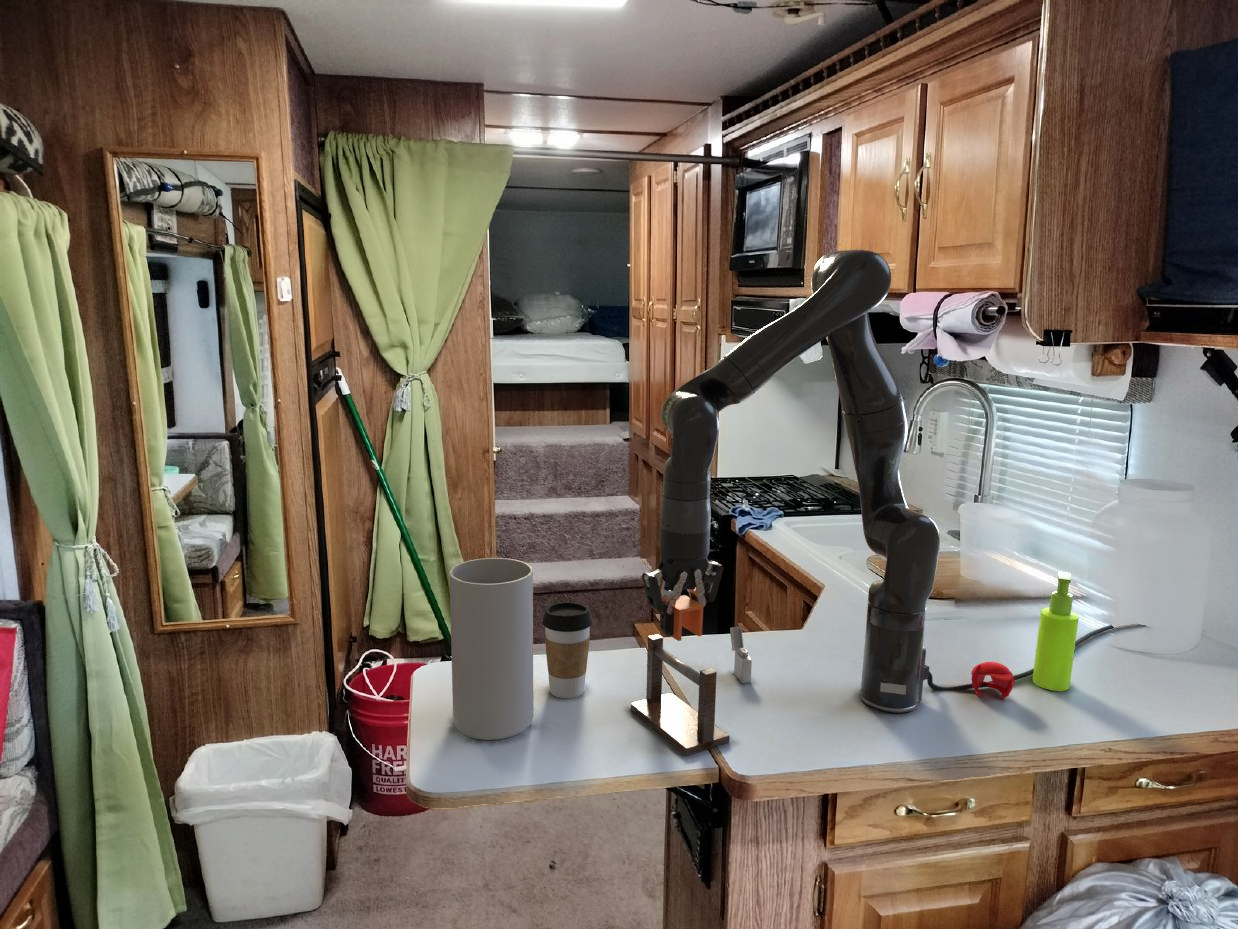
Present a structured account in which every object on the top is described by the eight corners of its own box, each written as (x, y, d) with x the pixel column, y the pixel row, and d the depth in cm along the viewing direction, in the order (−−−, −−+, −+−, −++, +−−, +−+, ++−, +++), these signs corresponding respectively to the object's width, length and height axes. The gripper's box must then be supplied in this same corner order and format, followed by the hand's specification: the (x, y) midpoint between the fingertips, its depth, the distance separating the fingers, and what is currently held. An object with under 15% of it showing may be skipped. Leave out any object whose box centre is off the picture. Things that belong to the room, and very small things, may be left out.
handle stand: (671, 698, 142) (673, 630, 140) (729, 742, 129) (733, 667, 126) (630, 709, 138) (631, 639, 136) (686, 756, 125) (688, 679, 122)
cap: (959, 687, 148) (962, 655, 147) (986, 682, 150) (990, 651, 149) (993, 708, 141) (997, 675, 139) (1021, 703, 143) (1025, 670, 142)
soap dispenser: (1068, 677, 152) (1082, 571, 148) (1070, 693, 146) (1084, 583, 142) (1032, 671, 155) (1044, 566, 151) (1032, 686, 149) (1046, 578, 145)
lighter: (751, 682, 149) (753, 639, 147) (741, 683, 148) (743, 640, 147) (737, 665, 155) (739, 624, 154) (728, 666, 155) (729, 624, 153)
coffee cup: (554, 706, 139) (554, 620, 136) (534, 685, 146) (534, 602, 143) (600, 696, 143) (601, 611, 140) (579, 675, 150) (579, 595, 147)
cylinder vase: (451, 706, 138) (447, 560, 133) (527, 699, 141) (527, 555, 136) (455, 746, 126) (451, 587, 121) (538, 737, 129) (538, 581, 124)
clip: (683, 624, 134) (684, 594, 133) (702, 636, 130) (703, 605, 129) (660, 629, 132) (661, 599, 131) (678, 641, 128) (679, 610, 127)
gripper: (658, 537, 121) (655, 649, 124) (738, 525, 128) (733, 631, 131) (631, 524, 127) (629, 631, 131) (709, 513, 134) (704, 615, 138)
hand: (681, 631), depth 131 cm, fingers closed on clip, 4 cm apart
